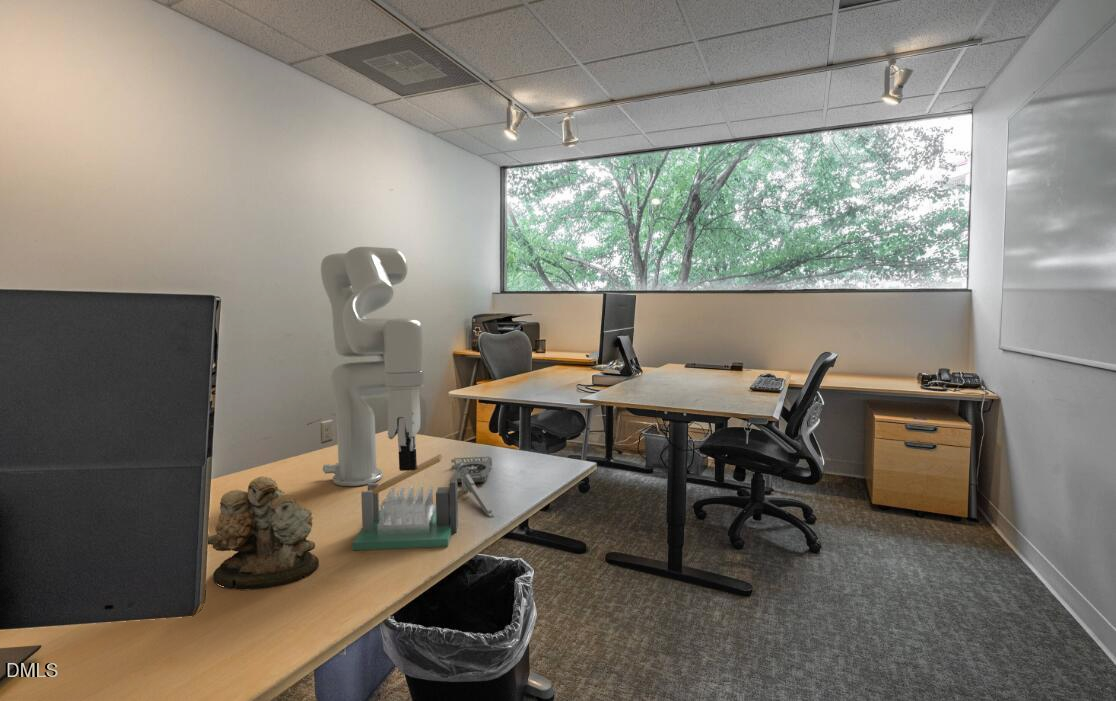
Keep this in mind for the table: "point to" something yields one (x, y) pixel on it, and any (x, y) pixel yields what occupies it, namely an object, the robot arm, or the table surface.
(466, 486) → the caliper
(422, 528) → the heat sink
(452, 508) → the lug
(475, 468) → the graphics card
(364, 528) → the motherboard
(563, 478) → the table surface
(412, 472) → the strap
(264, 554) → the owl figurine
